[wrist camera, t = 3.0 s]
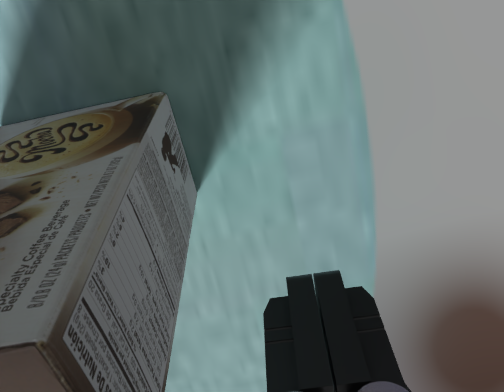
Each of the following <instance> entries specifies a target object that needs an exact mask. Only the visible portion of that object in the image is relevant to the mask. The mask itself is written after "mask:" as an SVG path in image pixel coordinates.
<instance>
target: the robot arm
mask: <svg viewBox="0 0 504 392" xmlns="http://www.w3.org/2000/svg"><path fill="white" fill-rule="evenodd" d="M313 275H314V284H315V289H314V284H313V279H312V275H311V274H308V275H300V276H293V277H286V281H287V289H288V296H285V297H277V298H270V300H269V302H268V304H267V307H266V309H265V311H264V313H263V314H264V331H265V332H264V335H265V357H266V378H267V392H411V391H410V389H409V388H408V387H407V385H406V384H405V383H404V380H403V378H402V375H401V372H400V370H399V367H398V364H397V361H396V358H395V356H394V353H393V350H392V347H391V345H390V342H389V339H388V336H387V334H386V331H385V329H384V325H383V323H382V320H381V317H380V314H379V311H378V308H377V306H376V303H375V300H374V298H373V297H372V296H371V295H370V294H369V293H368V292H367V291H366V290H365V289H364V288H363V287H362V286H360V287H352V288H344V284H343V281H342V277H341V274H340V271H339V270H336V271H329V272H322V273H314V274H313ZM315 292H316V294H315Z"/></svg>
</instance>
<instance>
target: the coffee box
mask: <svg viewBox="0 0 504 392" xmlns="http://www.w3.org/2000/svg"><path fill="white" fill-rule="evenodd" d="M196 198H197V191H196V188H195V184H194V181H193V178H192V174H191V171H190V168H189V164H188V161H187V157H186V154H185V151H184V148H183V144H182V141H181V138H180V135H179V131H178V128H177V125H176V122H175V118H174V115H173V112H172V109H171V105H170V102H169V99H168V96H167V94H165V93H164V92H156V93H151V94H146V95H142V96H137V97H133V98H128V99H124V100H119V101H115V102H110V103H105V104H101V105H96V106H92V107H87V108H83V109H78V110H74V111H69V112H65V113H60V114H55V115H51V116H46V117H42V118H37V119H33V120H28V121H24V122H19V123H15V124H10V125H5V126H1V127H0V392H165V386H166V380H167V374H168V368H169V362H170V356H171V350H172V344H173V338H174V332H175V325H176V319H177V313H178V307H179V301H180V295H181V288H182V282H183V277H184V270H185V265H186V258H187V252H188V246H189V238H190V233H191V227H192V220H193V215H194V210H195V204H196Z"/></svg>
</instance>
